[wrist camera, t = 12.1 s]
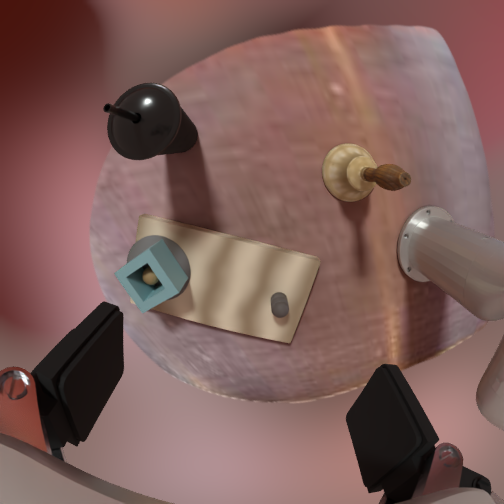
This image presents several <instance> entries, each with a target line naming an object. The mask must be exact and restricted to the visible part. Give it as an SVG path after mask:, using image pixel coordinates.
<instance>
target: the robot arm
mask: <svg viewBox="0 0 504 504" xmlns="http://www.w3.org/2000/svg"><path fill="white" fill-rule="evenodd" d="M404 235H405V236H404ZM397 253H398V260H399V263H400V266H401V268H402V270H403V271H404V272H405V273H406V274H407V275H408V276H409V277H410V278H412V279H413V280H415V281H419V282H427V281H431V282H433V283H434V284H435V285H437V286H438V287H439V288H441V289H442V290H443V291H444V292H446V293H447V294H448V295H450V296H451V297H452V298H453V299H455V300H456V301H457V302H458V303H460V304H461V305H462V306H463V307H464V308H466V309H467V310H468V311H469V312H471V313H472V314H473V315H474V316H476V317H477V318H479V319H481V320H484V321H496V320H501V319H503V318H504V242H502V241H500V240H497V239H495V238H493V237H490V236H488V235H485V234H483V233H480V232H478V231H475V230H472V229H470V228H467V227H464V226H462V225H459V224H456V223H454V220H453V219H452V217H451V215H450V214H449V213H448V212H447V211H445V210H444V209H442V208H439V207H435V206H425V207H422V208H420V209H418V210H417V211H415V212H414V213H413V214H412V215H411V216H410V217H409V218H408V219H407V221H406V222H405V224H404V226H403V227H402V230H401V232H400V235H399V240H398V247H397ZM123 371H124V357H123V313H122V312H120V309H119V307H118V306H116V305H113V304H110V303H107V302H102V303H101V304H100V305H99V306H98V307H97V308H96V309H95V310H93V311H92V313H90V314H89V315H88V316H87V317H86V318H85V319H84V320H83V321H82V322H81V323H80V324H79V325H78V326H77V327H76V328H75V329H73V330H71V331H70V332H69V333H68V334H67V335H66V336H65V337H64V338H63V339H62V340H61V341H60V342H59V343H58V344H57V345H56V346H55V347H54V348H53V349H52V350H51V351H50V352H49V353H48V355H47V356H46V357H45V358H44V359H43V360H42V361H41V362H40V363H39V364H38V365H37V366H36V367H35V368H34V370H33V371H32V372H31V373H29V372H28V371H27V370H25V369H23V368H20V367H14V366H13V367H7V368H5V369H3V370H1V371H0V504H173V503H169V502H166V501H162V500H158V499H155V498H151V497H148V496H145V495H142V494H139V493H136V492H133V491H130V490H128V489H125V488H122V487H120V486H117V485H114V484H111V483H109V482H107V481H104V480H102V479H100V478H97V477H95V476H93V475H91V474H88V473H86V472H84V471H82V470H80V469H78V468H76V467H74V466H72V465H70V464H68V463H67V461H66V458H65V455H64V452H63V448H62V447H64V446H65V444H66V442H69V443H71V444H73V445H75V446H78V444H79V442H80V441H82V442H84V441H85V440H86V439H87V437H88V435H89V433H90V431H91V430H92V428H93V426H94V424H95V422H96V421H97V419H98V417H99V415H100V413H101V411H102V410H103V408H104V406H105V405H106V403H107V401H108V399H109V397H110V396H111V394H112V392H113V391H114V389H115V387H116V385H117V384H118V382H119V380H120V378H121V377H122V374H123ZM476 402H477V406H478V408H479V410H480V412H481V414H482V415H483V416H484V417H485V418H486V419H487V420H488V421H489V422H490V423H492V424H493V425H494V426H496V427H498V428H499V429H501V430H503V431H504V335H503V337H502V340H501V342H500V344H499V346H498V348H497V350H496V352H495V354H494V356H493V358H492V359H491V361H490V363H489V365H488V367H487V369H486V371H485V373H484V374H483V376H482V378H481V380H480V383H479V385H478V388H477V392H476ZM346 422H347V425H348V429H349V432H350V435H351V439H352V443H353V446H354V450H355V454H356V457H357V460H358V464H359V468H360V472H361V476H362V479H363V483H364V485H365V487H367V489H368V492H369V493H372V492H378V491H381V490H382V489H384V492H385V493H384V494H383V496H382V498H381V500H380V502H379V504H504V500H503V499H501V498H500V497H499V496H498V495H496V493H494V492H493V491H492V492H491V484H490V481H489V480H488V479H487V478H486V477H484V476H482V475H480V474H478V473H476V472H474V471H472V470H470V469H468V468H466V467H464V466H463V456H462V454H461V452H460V450H459V449H458V448H457V447H456V446H454V445H452V444H450V443H442V444H439V445H438V446H437V447H436V448H435V446H434V445H435V444H436V443H437V442H438V441H439V438H438V436H437V434H436V432H435V430H434V428H433V426H432V425H431V423H430V421H429V419H428V417H427V416H426V414H425V412H424V410H423V408H422V407H421V405H420V403H419V401H418V400H417V398H416V396H415V394H414V393H413V391H412V389H411V387H410V386H409V384H408V382H407V381H406V379H405V377H404V376H403V374H402V372H401V371H400V369H399V367H398V366H397V365H391V364H382V365H381V366H380V367H378V368H377V369H376V370H375V372H374V374H373V375H372V377H371V378H370V380H369V382H368V383H367V385H366V386H365V388H364V389H363V391H362V393H361V394H360V395H359V397H358V398H357V400H356V401H355V403H354V404H353V406H352V407H351V408H350V410H349V411H348V413H347V415H346Z"/></svg>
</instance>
